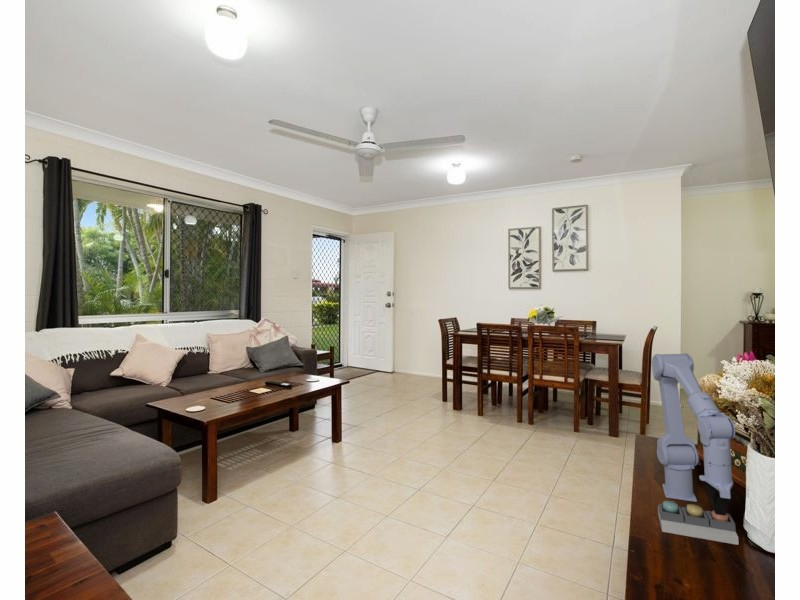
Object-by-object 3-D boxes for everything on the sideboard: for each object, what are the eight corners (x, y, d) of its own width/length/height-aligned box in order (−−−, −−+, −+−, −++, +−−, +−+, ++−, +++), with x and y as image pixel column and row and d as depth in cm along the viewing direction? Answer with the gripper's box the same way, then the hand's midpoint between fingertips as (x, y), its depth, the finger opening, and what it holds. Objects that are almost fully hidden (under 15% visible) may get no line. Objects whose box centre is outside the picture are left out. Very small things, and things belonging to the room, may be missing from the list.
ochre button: (686, 510, 114) (685, 503, 114) (701, 512, 112) (700, 505, 112) (688, 516, 111) (687, 509, 111) (703, 518, 109) (703, 511, 109)
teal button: (662, 506, 116) (662, 499, 116) (676, 508, 115) (676, 501, 115) (664, 512, 113) (663, 505, 113) (678, 514, 112) (678, 507, 112)
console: (658, 513, 119) (657, 499, 119) (728, 524, 112) (727, 509, 112) (662, 531, 110) (661, 516, 110) (738, 544, 103) (737, 528, 103)
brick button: (710, 516, 111) (710, 509, 111) (726, 518, 110) (726, 511, 110) (713, 522, 108) (713, 515, 108) (729, 525, 107) (729, 517, 107)
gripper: (693, 450, 117) (696, 498, 117) (704, 470, 104) (707, 524, 104) (724, 453, 114) (727, 503, 114) (739, 474, 101) (742, 530, 101)
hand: (719, 513), depth 109 cm, fingers closed, pressing on brick button
